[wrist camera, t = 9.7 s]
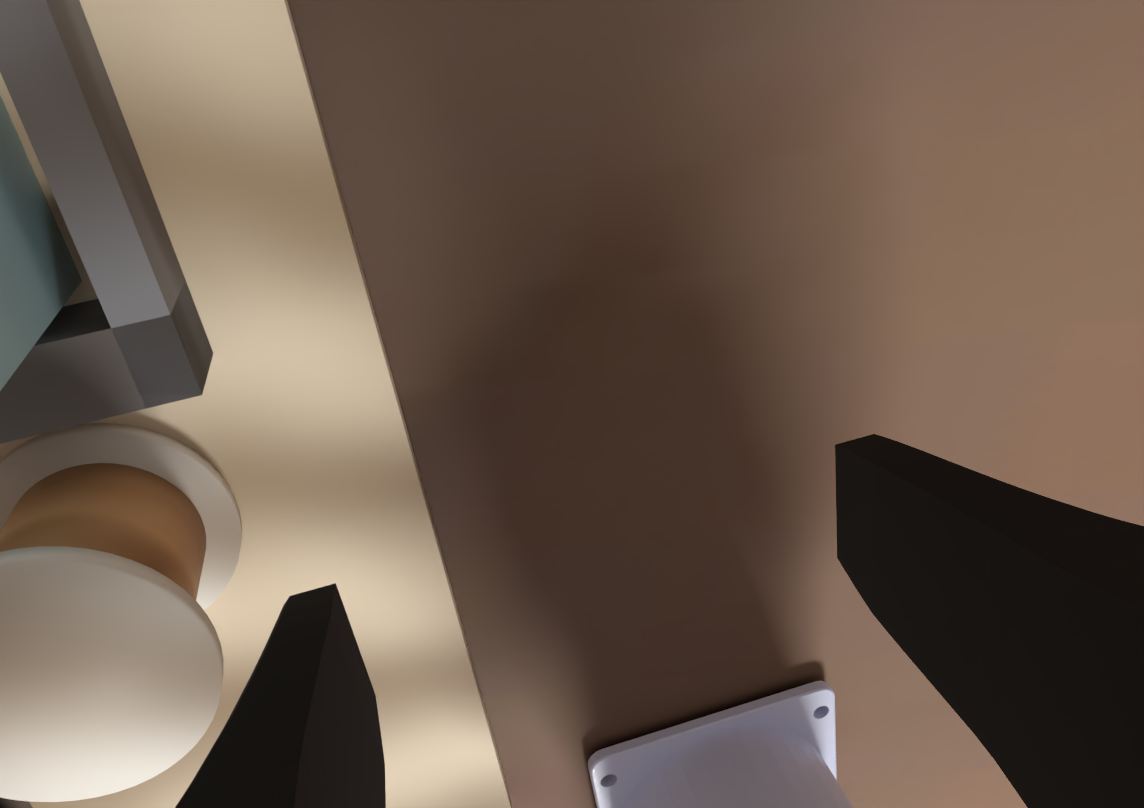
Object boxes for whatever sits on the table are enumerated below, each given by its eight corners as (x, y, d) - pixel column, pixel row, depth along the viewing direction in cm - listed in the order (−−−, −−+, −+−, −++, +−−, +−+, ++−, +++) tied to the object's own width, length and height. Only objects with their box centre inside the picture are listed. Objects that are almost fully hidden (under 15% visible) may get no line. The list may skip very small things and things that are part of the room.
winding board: (509, 795, 28) (553, 992, 22) (137, 914, 26) (91, 1155, 21) (222, -231, 15) (171, -328, 10) (-516, -124, 14) (-1035, -174, 8)
